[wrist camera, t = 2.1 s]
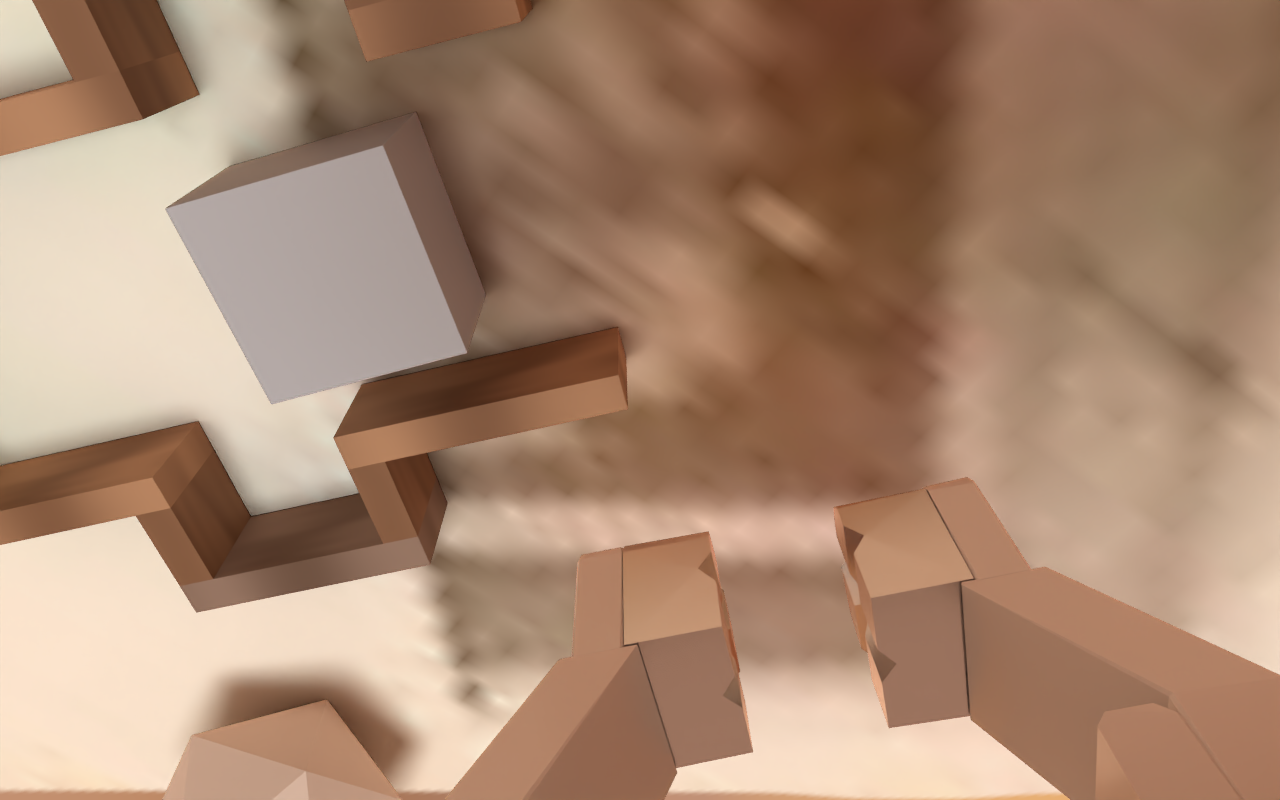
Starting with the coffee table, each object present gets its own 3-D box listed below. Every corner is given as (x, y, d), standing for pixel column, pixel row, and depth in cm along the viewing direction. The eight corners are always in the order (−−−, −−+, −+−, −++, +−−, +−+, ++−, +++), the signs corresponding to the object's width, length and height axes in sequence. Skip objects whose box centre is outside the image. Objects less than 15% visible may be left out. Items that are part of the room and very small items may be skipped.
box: (471, -221, 22) (436, -254, 18) (653, 460, 32) (659, 546, 28) (-368, 17, 24) (-585, 40, 20) (45, 588, 34) (-39, 687, 30)
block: (416, 110, 26) (382, 145, 22) (486, 293, 29) (467, 352, 25) (230, 165, 27) (164, 208, 23) (316, 338, 30) (271, 404, 26)
